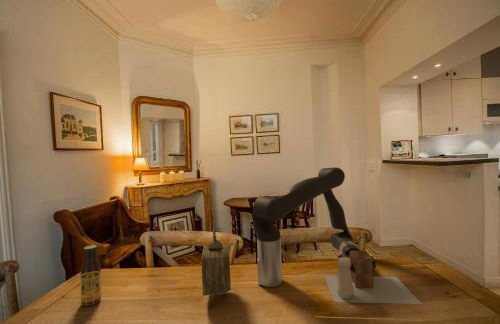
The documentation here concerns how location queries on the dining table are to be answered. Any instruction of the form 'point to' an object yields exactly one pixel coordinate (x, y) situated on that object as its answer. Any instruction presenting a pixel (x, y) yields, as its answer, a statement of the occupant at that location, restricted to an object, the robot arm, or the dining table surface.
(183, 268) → the dining table surface
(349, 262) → the salt shaker
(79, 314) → the dining table surface
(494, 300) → the dining table surface
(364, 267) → the block
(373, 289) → the board
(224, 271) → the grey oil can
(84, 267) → the sauce bottle
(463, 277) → the dining table surface
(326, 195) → the robot arm
